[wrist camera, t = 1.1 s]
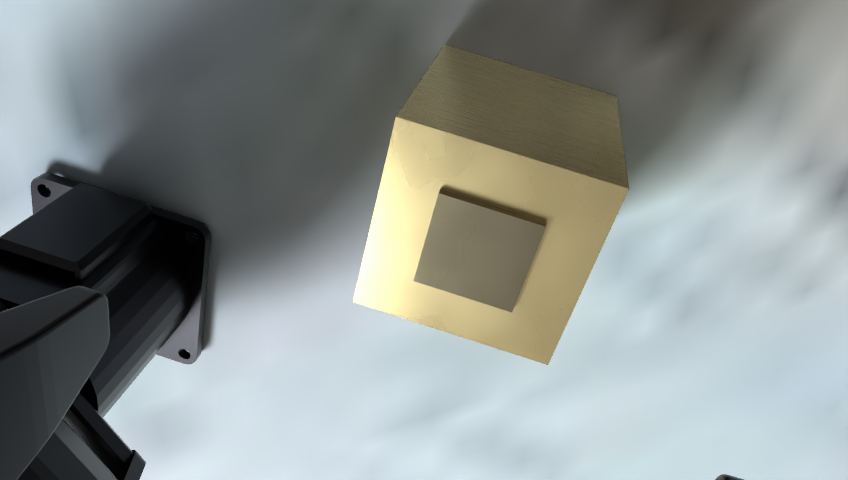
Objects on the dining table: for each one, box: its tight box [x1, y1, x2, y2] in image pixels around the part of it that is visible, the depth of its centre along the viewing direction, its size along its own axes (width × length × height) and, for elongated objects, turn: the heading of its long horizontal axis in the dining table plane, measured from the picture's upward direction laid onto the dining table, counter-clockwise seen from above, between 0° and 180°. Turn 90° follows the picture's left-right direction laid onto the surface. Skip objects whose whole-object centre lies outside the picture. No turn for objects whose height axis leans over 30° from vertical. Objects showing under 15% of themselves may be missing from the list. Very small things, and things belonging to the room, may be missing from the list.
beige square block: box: [353, 45, 629, 365], centre depth 18 cm, size 5×5×6 cm
